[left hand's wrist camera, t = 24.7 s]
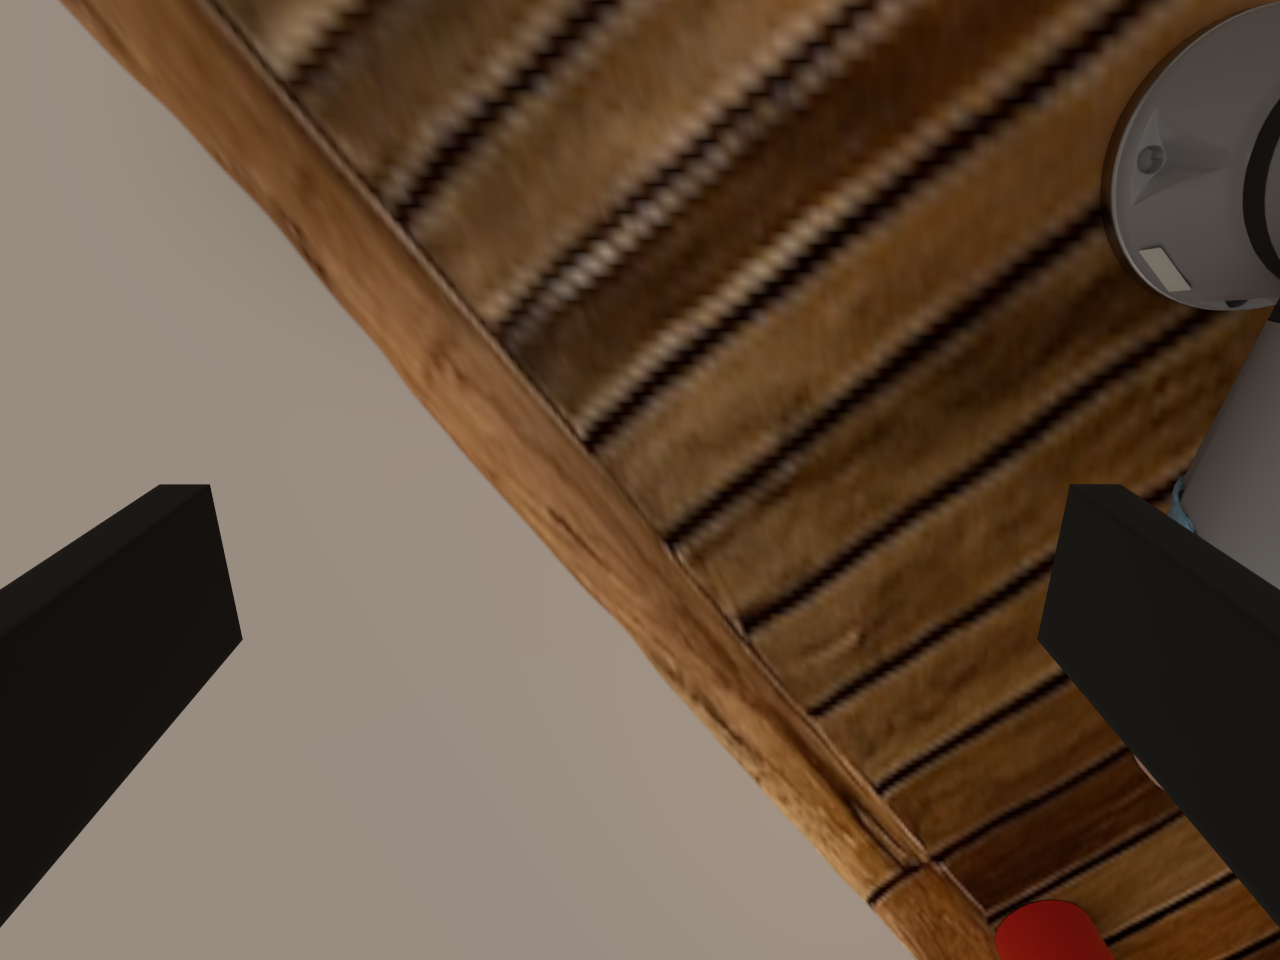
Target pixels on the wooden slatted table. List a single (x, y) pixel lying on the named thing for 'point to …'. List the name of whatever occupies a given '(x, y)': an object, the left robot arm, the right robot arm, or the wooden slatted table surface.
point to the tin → (1050, 934)
